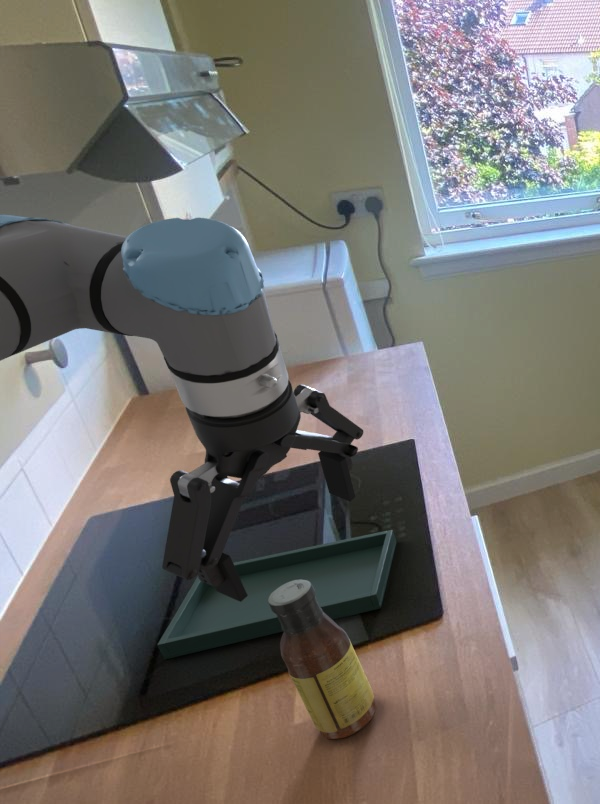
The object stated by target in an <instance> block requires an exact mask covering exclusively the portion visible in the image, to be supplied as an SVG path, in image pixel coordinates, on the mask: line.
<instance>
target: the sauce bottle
mask: <svg viewBox="0 0 600 804" xmlns="http://www.w3.org/2000/svg"><path fill="white" fill-rule="evenodd" d="M268 603H269V605H270V608H271V610H272V611H273V612H274V613H275V614H276V615H277V617H278V619H279V621H280V623H281V626H282V630H283V632H282V635H281V638H280V641H279V650H280V655H281V658H282V660H283V662H284V664H285V666H286V668H287V672H288V675H289V676H290V678H291V681H292V682H293V684H294V687H295V689H296V690H297V692H298V695H299V697H300V699H301V701H302V703H303V704H304V706H305V709H306V710H307V713H308V715H309V717H310V718H311V720H312V723H313V725H314V727H315V728H316V729H317V730H318V731H319V733H320V734H321V736H323V738H325V739H328V740H329V739H330V740H337V739H345V738H348V737H350V736H352V735H354V734H356V733H357V732H359V731H361V730H362V729H364V728H365V726H367V725H368V724H369V722H371V720H372V719H373V718H374V715H375V713H376V710H377V701H376V699H375V697H374V696H375V695H374V694H375V693H374V691H373V688H372V687H371V684H370V682H369V680H368V678H367V675H366V673H365V671H364V668H363V666H362V663H361V662H360V659H359V657H358V655H357V653H356V651H355V649H354V646H353V644H352V642H351V639H350V638H349V635H348V634H347V632H346V631H345V629H344V628H342V627H341V626H339V624H337V622H335V620H332V619H331V618H330V617H329V616H327V615H326V614H325V613H324V612H323V611H322V609H321V608H320V606H319V604H318V601H317V599H316V597H315V589H314V588H313V586H312V584H311V583H310V582H309V581H307V580H294V581H291V582H288V583H286V584H284V585H282V586H280V587H279V588H278V589H276V590H275V591H274V592H273V593H272V594H271V595H270V596H269V599H268Z"/></svg>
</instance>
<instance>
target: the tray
mask: <svg viewBox="0 0 600 804" xmlns="http://www.w3.org/2000/svg"><path fill="white" fill-rule="evenodd" d="M396 547H397V540H396V537H395V534H394V530H393V529H388V530H384V531H379V532H374V533H370V534H364V535H360V536H355V537H351V538H346V539H341V540H336V541H331V542H327V543H322V544H317V545H312V546H308V547H301V548H298V549H293V550H288V551H283V552H278V553H274V554H269V555H264V556H259V557H255V558H254V557H253V558H250V559H245V560H240V561H235V562H233V564H234V566H235V568H236V570H237V573H238V575H239V577H240V579H241V582H242V584H243V586H244V588H245V591H246V593H247V595H248V596H247V597H246V598H245V599H244V600H243V601H241V602H240V601H237V600H235V599H233V598H231V597H228V596H226V595H224V594H222V593H219V592H217V590H216V588H215V587H214V586H211V585H209V584H207V583H205V582H202V581H200V579H199V578H198V576H196V579H195V580H194V582H193V584H192V586H191V587H190V588H189V590H188V592H187V594H186V595H185V597H184V598H183V600H182V602H181V604H180V605H179V607H178V609H177V611H176V612H175V614H174V615H173V617H172V619H171V621H170V622H169V624H168V626H167V628H166V629H165V631H164V633H163V634H162V636H161V638H160V639H159V641H158V643H157V648H158V650H159V651H160V654H161V655H162V657H163V659H164V660H169V659H174V658H177V657H182V656H186V655H189V654H190V655H191V654H194V653H199V652H202V651H207V650H212V649H216V648H219V647H220V648H221V647H223V646H228V645H232V644H237V643H242V642H246V641H249V640H253V639H254V640H255V639H259V638H262V637H267V636H271V635H274V634H279V633H283V632H284V631H283V630H282V626H281V623H280V621H279V619H278V617H277V615H276V614H275V613H274V612H273V611H272V610H271V608H270V605H269V603H268V599H269V596H270V595H271V594H272V593H273V592H274V591H275V590H276V589H278V588H279V587H280V586H282V585H284V584H286V583H288V582H291V581H294V580H307V581H309V582H310V583H311V584H312V586H313V588H314V589H315V597H316V599H317V601H318V604H319V606H320V608H321V609H322V611H323V612H324V613H325V614H326V615H327V616H329V617H330V618H331V619H332V620H333V621H335V620H338V619H343V618H346V617H351V616H355V615H359V614H364V613H367V612H372V611H376V610H380V609H382V605H383V601H384V596H385V592H386V589H387V584H388V580H389V576H390V571H391V568H392V564H393V559H394V555H395V550H396Z"/></svg>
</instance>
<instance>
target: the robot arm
mask: <svg viewBox="0 0 600 804" xmlns="http://www.w3.org/2000/svg"><path fill="white" fill-rule="evenodd" d="M263 277H264V276H263V273H262V271H261V270H260V268H258V265H257V263H256V260H255V258H254V255H253V253H252V250H251V248H250V245H249V243H248V241H247V239H246V238H245V236H244V234H242V233H241V232H240V231H239V230H238V229H236V227H233V226H232V225H230V224H228V223H226V222H223V221H220V220H217V219H213V218H207V217H194V218H190V219H182V218H180V217H171V218H165V219H160V220H156V221H153V222H150V223H148V224H145V225H142V226H141V227H139V228H137V229H135V230H134V231H132V232H131V233H130V234H129V235H128V236H126V235H122V234H116V233H111V232H106V231H102V230H97V229H93V228H88V227H83V226H78V225H72V224H69V223H66V222H62V221H60V220H56V219H47V218H44V217H26V216H18V215H12V214H11V215H10V214H0V362H1V361H4V360H5V359H7V358H10V357H12V356H16V355H18V354H20V353H22V352H24V351H25V352H26V351H27V350H30V349H32V348H34V347H37V346H40V345H41V344H44V343H46V342H49V341H51V340H53V339H56V338H58V337H60V336H62V335H65V334H67V333H70V332H72V331H75V330H80V329H81V330H83V329H87V330H93V331H99V332H104V333H110V334H117V335H122V336H128V337H138V338H139V337H140V338H142V339H143V338H144V339H149V340H152V341H154V342H155V343H156V344H157V346H158V348H159V350H160V351H161V354H162V356H163V360H164V362H165V364H166V366H167V369H168V371H169V373H170V375H171V378H172V380H173V383H174V385H175V388H176V390H177V393H178V396H179V398H180V400H181V402H182V404H183V406H184V407H185V408H184V409H185V411H186V414H187V417H188V419H189V421H190V423H191V426H192V429H193V430H194V433H195V436H196V438H197V439H198V440H199V442H200V443H201V445H202V446H203V448H204V449H205V457H204V463H203V464H201V465H200V466H198V467H197V468H195V469H193V470H191V471H190V472H187V471H184V470H182V469H178V470H176V471H174V473H172V474H171V477H170V478H169V482H170V485H171V489H172V492H173V501H172V505H171V506H172V507H171V512H170V518H169V522H168V523H169V524H168V530H167V534H166V535H167V536H166V541H165V547H164V554H163V559H162V564H161V565H162V566H161V567H162V569H163V570H164V571H166V572H168V573H171V574H173V575H175V576H177V577H180V578H182V579H184V580H186V581H190V580H193V579H195V578H196V577H198V578H199V579H200V581H202V582H205V583H207V584H209V585H211V586H214V587H215V588H216V590H217V592H219V593H222V594H224V595H226V596H228V597H231V598H233V599H235V600H237V601H240V602H241V601H243V600H244V599H245V598H246V597H247V596H248V595H247V593H246V591H245V588H244V586H243V584H242V582H241V579H240V577H239V575H238V573H237V570H236V568H235V566H234V564H233V563H234V562H233V559H232V557H231V555H229V554H227V553H225V552H224V550H225V547H226V545H227V543H228V540H229V539H230V538H229V537H230V536H231V533H232V531H233V528H234V525H235V523H236V520H237V518H238V515H239V512H240V510H241V508H242V505H243V502H244V500H245V498H246V497H248V496H250V495H252V494H253V492H254V490H255V486H256V485H257V481H258V480H259V479H260V478H262V477H263V476H264V475H266V474H268V472H269V471H270V470H271V469H272V467H273V466H275V465H278V464H279V463H281V462H282V461H283V460H285V459H286V458H287V457H288V455H287V454H288V453H289V452H290V450H291V449H296V450H302V451H307V450H311V451H317V452H318V459H319V462H320V465H321V469H322V472H323V476H324V480H325V483H326V486H327V490H328V494H330V495H333V496H335V497H338V498H340V499H342V500H344V501H347V502H349V503H351V502H352V501H353V500H354V499H356V493H355V489H354V485H353V481H352V477H351V474H350V471H352V470H353V466H354V465H353V460H352V458H353V457H355V456H356V455H357V453H358V451H359V447H358V446H356V445H354V444H352V443H353V441H354V440H359V439H361V438H362V436H363V435H364V429H363V428H361V427H360V426H359V425H357V424H356V423H354V421H351V419H349V418H348V417H346V416H345V415H344V414H342V412H341V413H340V412H339V410H337V409H336V408H334V407H333V406H331V405H330V403H329V400H328V397H327V395H326V394H325V392H322V391H319V390H317V389H315V388H312V387H310V386H307V385H305V384H302V383H301V384H298V385H297V386H296V387H294V388H293V385H292V383H291V380H290V379H289V377H290V376H289V372H288V369H287V366H286V362H285V359H284V355H283V352H282V349H281V345H280V341H279V339H278V335H277V334H276V332H275V330H274V329H275V328H274V326H273V322H272V316H271V312H270V308H269V304H268V300H267V296H266V295H267V294H266V291H265V284H264V281H265V280H264V278H263ZM302 413H303V414H306V415H311V416H313V417H314V418H316V419H317V420H319V421H320V422H322V423H323V424H325V425H326V426H328V427H329V428H330V429H332V430H334V431H335V432H334V434H333V435H332V436H331V435H327V434H321V433H316V432H312V431H311V432H310V431H307V430H299V429H298V427H299V425H300V422H301V418H302V415H301V414H302ZM231 478H235V479H240V482H238V481H236V480H233V479H231Z"/></svg>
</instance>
